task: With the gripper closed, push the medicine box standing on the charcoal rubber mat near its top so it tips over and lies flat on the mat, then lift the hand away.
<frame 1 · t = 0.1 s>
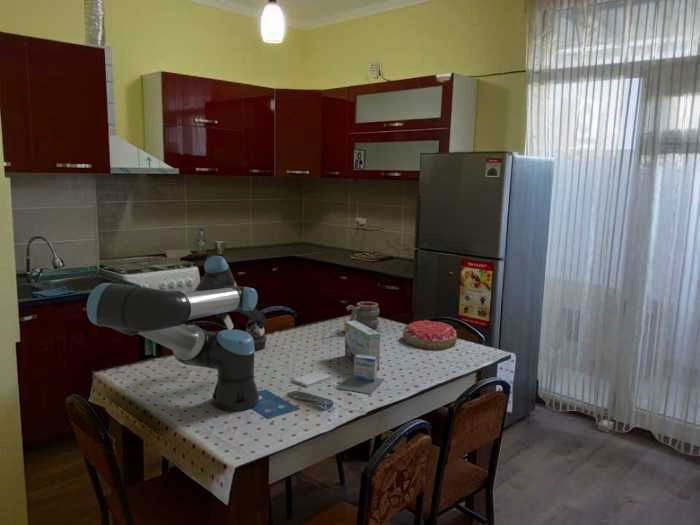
hand: (246, 330, 213), 15 cm above the table, fingers open, 13 cm apart
cake: (429, 342, 261), on the table
hard drive: (311, 382, 206), on the table
tankard: (360, 333, 272), on the table
snack box: (361, 363, 227), on the table
medicine box: (365, 379, 208), resting on rubber mat
rubber mat: (360, 384, 203), on the table
cupcake: (255, 348, 242), on the table
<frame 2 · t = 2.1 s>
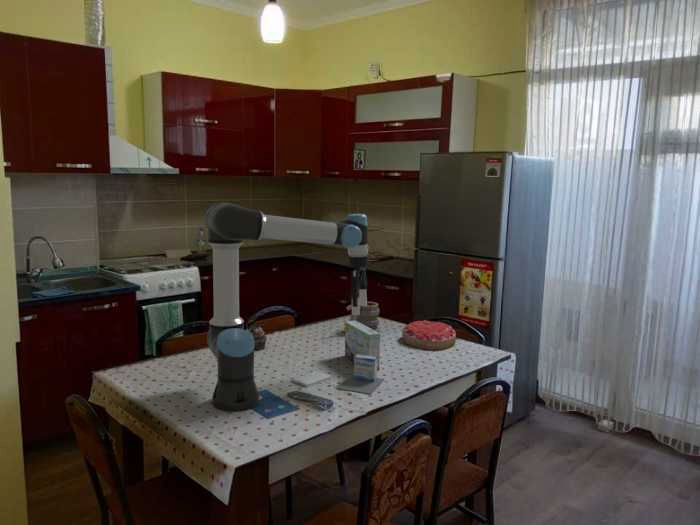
hand: (359, 310, 213), 24 cm above the table, fingers open, 13 cm apart
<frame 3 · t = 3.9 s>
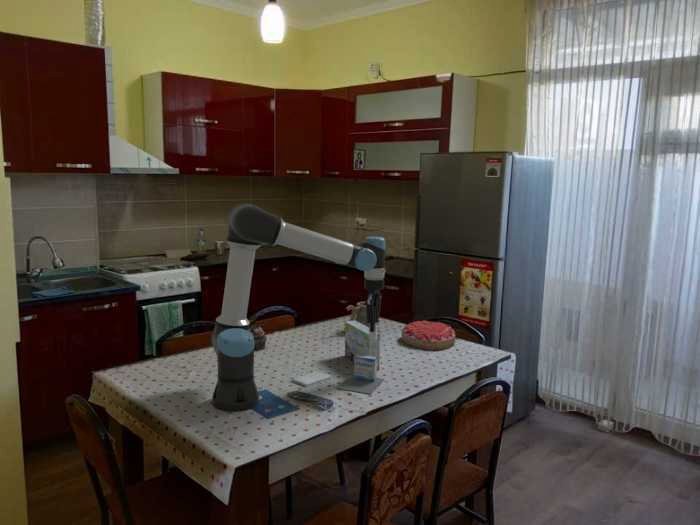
hand: (372, 339, 212), 14 cm above the table, fingers closed
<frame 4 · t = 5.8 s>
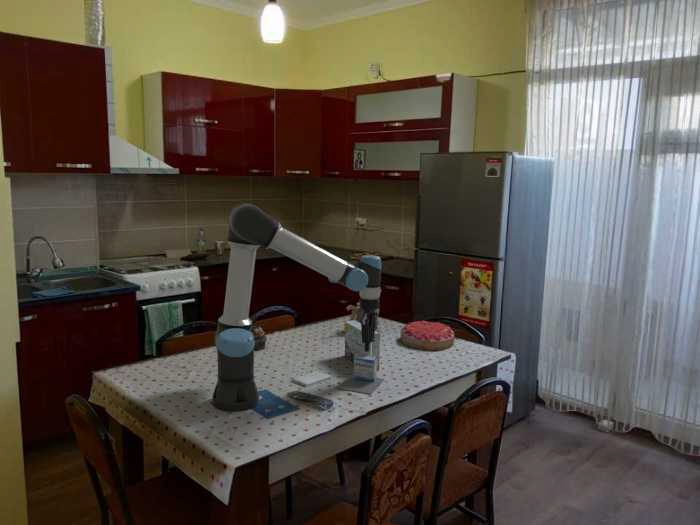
hand: (367, 359, 209), 7 cm above the table, fingers closed
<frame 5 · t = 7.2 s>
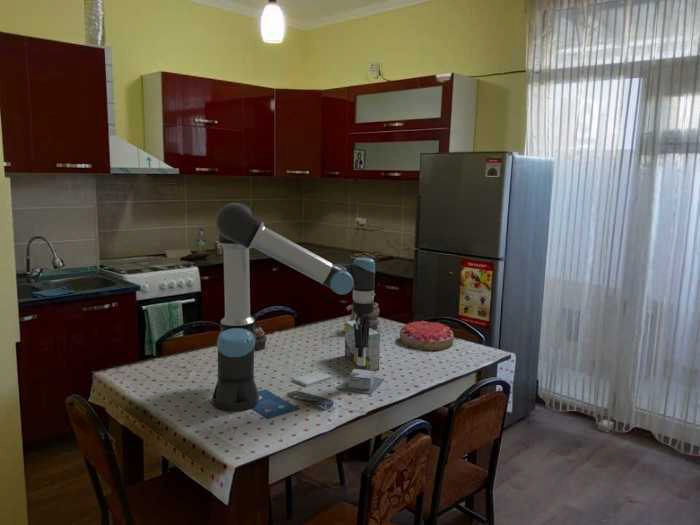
hand: (360, 364, 202), 7 cm above the table, fingers closed
medicine box: (364, 374, 206), point 3 cm above the table, touching rubber mat
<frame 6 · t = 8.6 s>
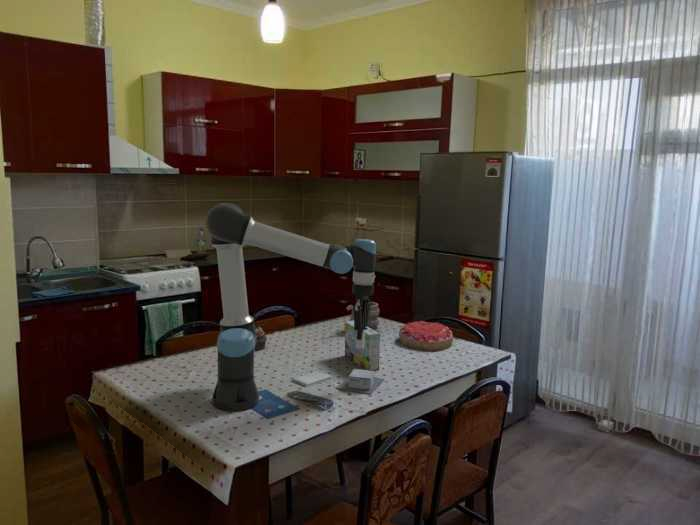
hand: (359, 347, 200), 14 cm above the table, fingers closed
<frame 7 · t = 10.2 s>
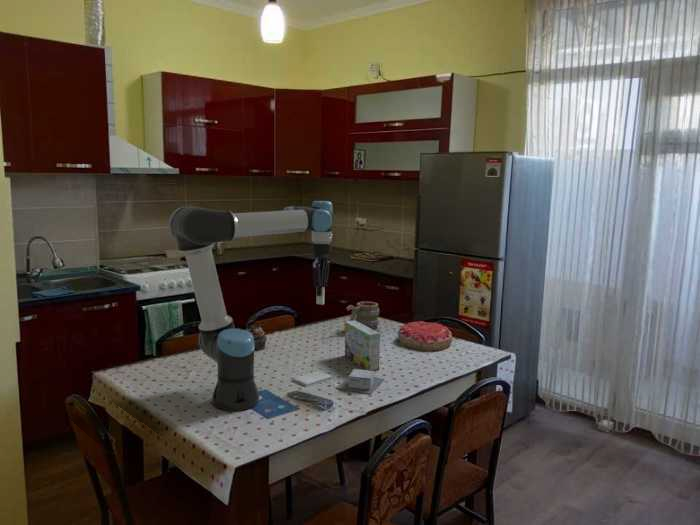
hand: (320, 303, 213), 26 cm above the table, fingers closed
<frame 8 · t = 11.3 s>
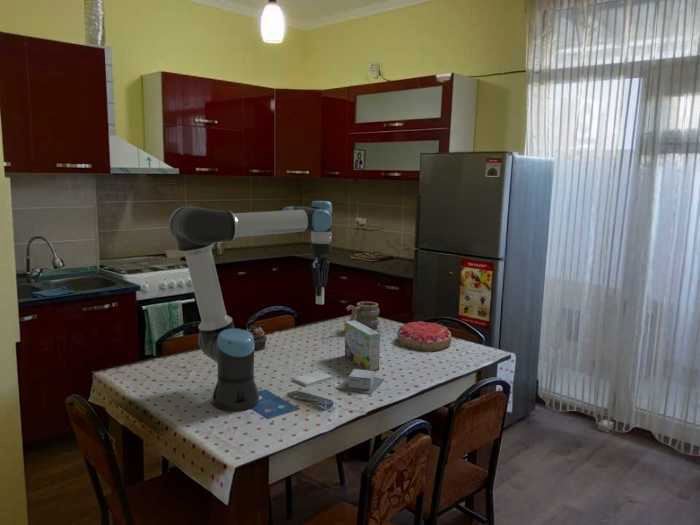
hand: (319, 303, 213), 26 cm above the table, fingers closed
at the end: medicine box tilted 90°; medicine box inside the target area (3.0 cm from its centre), point 2.5 cm above the table; medicine box touching rubber mat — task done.
